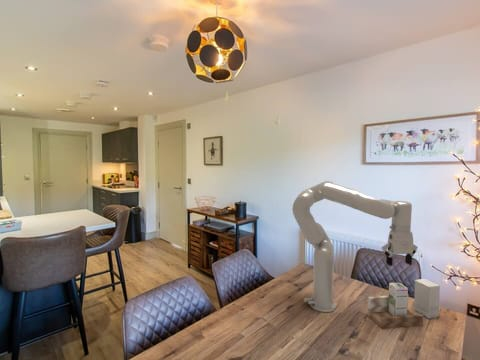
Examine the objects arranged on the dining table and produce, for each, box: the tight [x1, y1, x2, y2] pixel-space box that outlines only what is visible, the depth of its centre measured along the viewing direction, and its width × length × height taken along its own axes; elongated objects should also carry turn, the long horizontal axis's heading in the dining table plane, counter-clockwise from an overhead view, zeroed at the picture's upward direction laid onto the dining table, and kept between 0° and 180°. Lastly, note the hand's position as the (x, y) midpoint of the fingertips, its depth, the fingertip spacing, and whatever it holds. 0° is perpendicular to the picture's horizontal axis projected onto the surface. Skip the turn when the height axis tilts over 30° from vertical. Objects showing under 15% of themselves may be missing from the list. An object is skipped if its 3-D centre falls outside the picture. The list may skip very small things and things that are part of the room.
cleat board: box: [367, 294, 424, 330], centre depth 123 cm, size 20×11×9 cm, turn 98°
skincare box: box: [413, 278, 441, 319], centre depth 128 cm, size 8×7×16 cm
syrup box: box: [388, 282, 409, 317], centre depth 123 cm, size 6×6×14 cm
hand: (398, 264), depth 122 cm, fingers open, 9 cm apart
